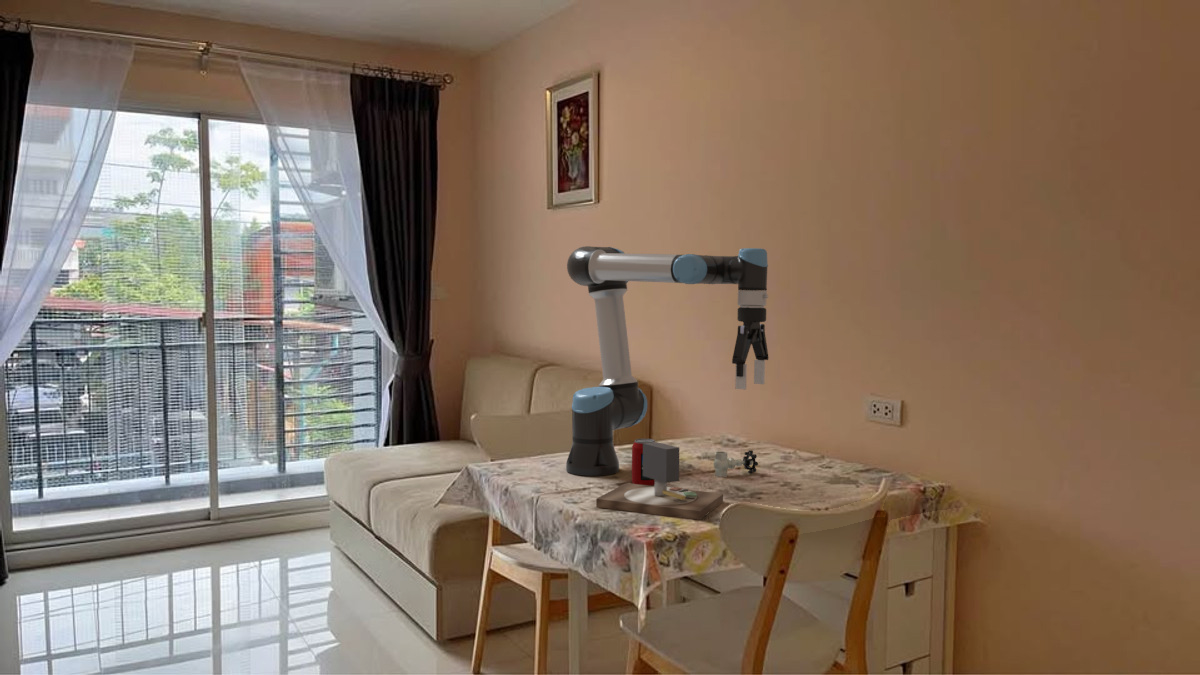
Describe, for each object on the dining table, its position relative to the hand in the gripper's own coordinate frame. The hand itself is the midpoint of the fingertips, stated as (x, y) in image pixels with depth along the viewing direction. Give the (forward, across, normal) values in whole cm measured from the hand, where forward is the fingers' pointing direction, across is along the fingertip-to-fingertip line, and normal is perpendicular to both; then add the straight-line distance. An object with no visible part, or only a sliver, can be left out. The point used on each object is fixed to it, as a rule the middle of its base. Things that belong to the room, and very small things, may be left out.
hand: (750, 386), depth 228 cm
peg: (+24, -33, +8) cm, 41 cm away
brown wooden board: (+26, -32, +10) cm, 43 cm away
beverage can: (+27, -16, +23) cm, 39 cm away
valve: (+27, +8, +7) cm, 29 cm away
